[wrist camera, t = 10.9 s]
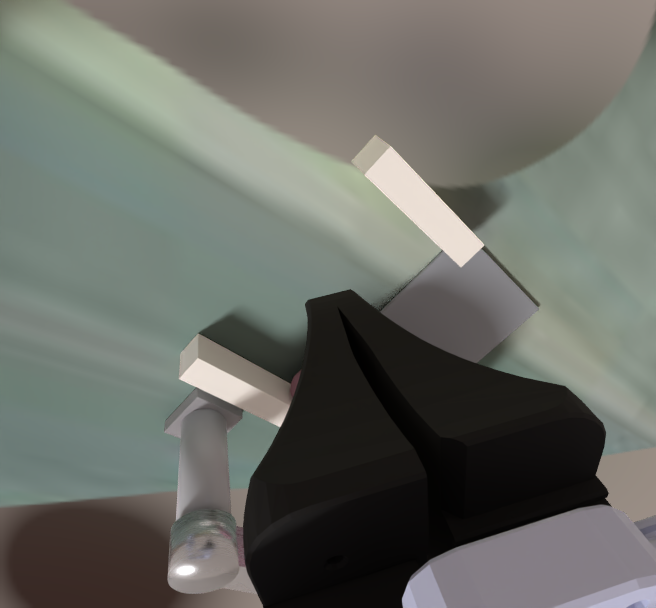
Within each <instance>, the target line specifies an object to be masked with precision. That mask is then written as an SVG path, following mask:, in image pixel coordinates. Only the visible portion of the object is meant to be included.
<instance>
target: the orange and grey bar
mask: <svg viewBox="0 0 656 608" xmlns="http://www.w3.org/2000/svg"><path fill="white" fill-rule="evenodd" d="M168 583H169V585H170V586H171V587H172V588H173V589H175V590H177V591H179V592H182V593H190V594H199V593H206V592H210V591H214V590H217V589H220V588H226V589H231V590H237V591H243V592H248V593H255V594H257V592H256V590H255V588H254V586H253V584H252V582H251V580H250V578H249V576H248V574H247V570H246V565H245V558H244V546H243V528H242V527H238V526H236V520H235V518H234V517H233V516H232V515H231V514H230V513H228V512H226V511H223V510H219V509H201V510H196V511H193V512H190V513H188V514H186V515H184V516H182V517H180V518H179V519H178V520H177V521H176V522H175V523H174V524H173V526H172V528H171V535H170V550H169V565H168Z"/></svg>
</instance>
